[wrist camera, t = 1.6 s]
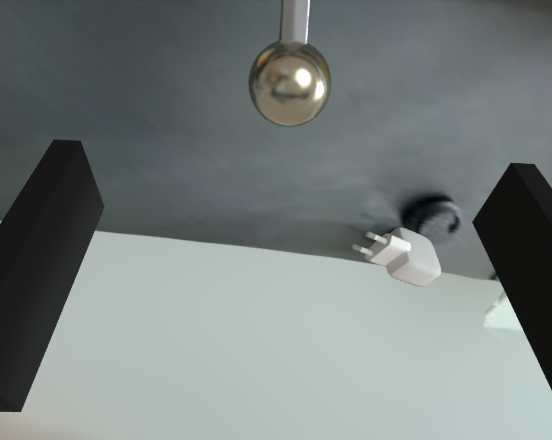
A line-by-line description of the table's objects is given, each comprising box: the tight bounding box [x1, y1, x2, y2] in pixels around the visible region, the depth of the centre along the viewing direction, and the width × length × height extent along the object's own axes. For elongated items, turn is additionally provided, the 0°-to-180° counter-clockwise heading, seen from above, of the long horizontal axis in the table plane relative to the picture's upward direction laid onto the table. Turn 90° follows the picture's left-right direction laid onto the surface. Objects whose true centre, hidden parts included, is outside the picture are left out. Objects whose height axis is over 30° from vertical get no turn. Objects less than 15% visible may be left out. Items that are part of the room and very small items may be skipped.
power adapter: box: [351, 228, 441, 287], centre depth 47 cm, size 11×5×6 cm, turn 60°
